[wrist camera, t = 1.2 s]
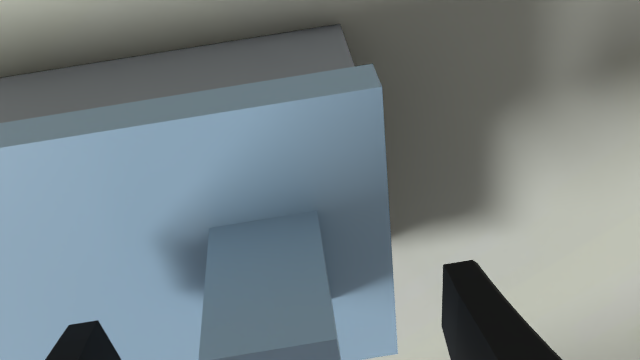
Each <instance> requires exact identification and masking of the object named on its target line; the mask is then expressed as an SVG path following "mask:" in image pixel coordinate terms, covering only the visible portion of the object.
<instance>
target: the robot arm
mask: <svg viewBox="0 0 640 360" xmlns="http://www.w3.org/2000/svg"><path fill="white" fill-rule="evenodd" d="M442 329H443V333H444V336H445V340H446V344H447V347H448V351H449V355H450V358H451V360H562V359H561V358H560V357H559V356H558V355H557V354H556V353H555V352H554V351H553V350H552V349H551V348H550V347H549V346H548V345H547V344H546V342H545V341H544V340H543V339H542V338H541V337H540V336H539V335H538V334H537V333H536V332H535V331H534V330H533V329H532V328H531V327H530V326H529V324H528V323H527V322H526V321H525V320H524V319H523V318H522V317H521V316H520V314H519V313H518V312H517V311H516V310H515V309H514V308H513V306H512V305H511V304H510V303H509V302H508V301H507V300H506V298H505V297H504V296H503V295H502V294H501V292H500V291H499V290H498V289H497V288H496V286H495V285H494V284H493V283H492V281H491V280H490V279H489V278H488V276H487V275H486V274H485V273H484V271H483V270H482V269H481V267H480V266H479V265H478V263H476V262H475V261H473V260H469V261H463V262H457V263H451V264H444V265H443V295H442ZM45 360H121V358H120V356H119V355H118V353H117V351H116V350H115V348H114V346H113V345H112V343H111V341H110V339H109V338H108V336H107V334H106V333H105V331H104V329H103V328H102V326H101V324H100V323H99V321H98V320H96V321H90V322H84V323H78V324H71V325H68V327H67V328H66V329H65V331H64V332H63V334H62V335H61V337H60V338H59V340H58V341H57V343H56V344H55V346H54V347H53V349H52V350H51V352H50V353H49V354H48V356H47V357H46V359H45Z"/></svg>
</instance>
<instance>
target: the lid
mask: <svg viewBox="0 0 640 360" xmlns="http://www.w3.org/2000/svg"><path fill="white" fill-rule="evenodd" d="M96 320H98V321H99V323H100V324H101V326H102V328H103V329H104V331H105V333H106V334H107V336H108V338H109V339H110V341H111V343H112V345H113V346H114V348H115V350H116V351H117V353H118V355H119V356H120V358H121V360H362V359H368V358H375V357H381V356H387V355H393V354H398V350H397V333H396V316H395V299H394V282H393V265H392V248H391V231H390V214H389V197H388V180H387V163H386V146H385V129H384V112H383V95H382V85H381V83H380V81H379V78H378V76H377V73H376V71H375V68H374V66H373V64H367V65H361V66H355V67H349V68H342V69H336V70H330V71H324V72H317V73H311V74H305V75H299V76H292V77H286V78H280V79H273V80H267V81H261V82H255V83H248V84H242V85H236V86H230V87H223V88H217V89H211V90H205V91H198V92H192V93H186V94H180V95H173V96H167V97H161V98H154V99H148V100H142V101H136V102H129V103H123V104H117V105H111V106H104V107H98V108H92V109H86V110H79V111H73V112H67V113H61V114H54V115H48V116H42V117H36V118H29V119H23V120H17V121H10V122H4V123H0V360H45V359H46V357H47V356H48V354H49V353H50V352H51V350H52V349H53V347H54V346H55V344H56V343H57V341H58V340H59V338H60V337H61V335H62V334H63V332H64V331H65V329H66V328H67V327H68V325H71V324H78V323H84V322H90V321H96Z"/></svg>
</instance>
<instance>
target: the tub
mask: <svg viewBox="0 0 640 360" xmlns="http://www.w3.org/2000/svg"><path fill="white" fill-rule="evenodd" d="M349 67H355V66H354V63H353V60H352V57H351V54H350V51H349V48H348V46H347V43H346V40H345V37H344V34H343V31H342V28H341V25H340V24H337V25H331V26H324V27H318V28H312V29H306V30H299V31H293V32H287V33H280V34H274V35H268V36H262V37H255V38H249V39H243V40H236V41H230V42H224V43H218V44H211V45H205V46H199V47H192V48H186V49H180V50H174V51H167V52H161V53H155V54H148V55H142V56H136V57H130V58H123V59H117V60H111V61H104V62H98V63H92V64H86V65H79V66H73V67H67V68H60V69H54V70H48V71H42V72H35V73H29V74H23V75H16V76H10V77H4V78H0V123H4V122H10V121H17V120H23V119H29V118H36V117H42V116H48V115H54V114H61V113H67V112H73V111H79V110H86V109H92V108H98V107H104V106H111V105H117V104H123V103H129V102H136V101H142V100H148V99H154V98H161V97H167V96H173V95H180V94H186V93H192V92H198V91H205V90H211V89H217V88H223V87H230V86H236V85H242V84H248V83H255V82H261V81H267V80H273V79H280V78H286V77H292V76H299V75H305V74H311V73H317V72H324V71H330V70H336V69H342V68H349Z"/></svg>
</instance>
